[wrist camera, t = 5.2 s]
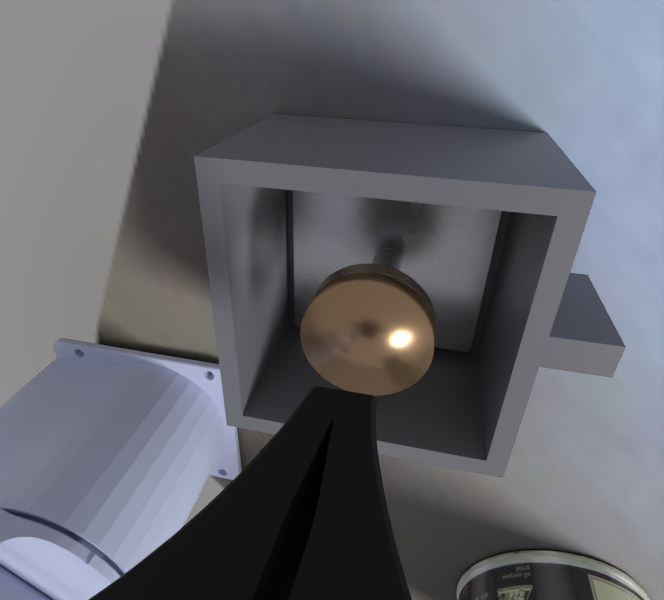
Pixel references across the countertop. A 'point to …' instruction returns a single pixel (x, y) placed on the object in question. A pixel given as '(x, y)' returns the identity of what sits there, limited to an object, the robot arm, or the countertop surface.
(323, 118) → the grey open box
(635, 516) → the countertop surface
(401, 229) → the plunger
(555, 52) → the countertop surface
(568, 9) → the countertop surface
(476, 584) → the coffee can
